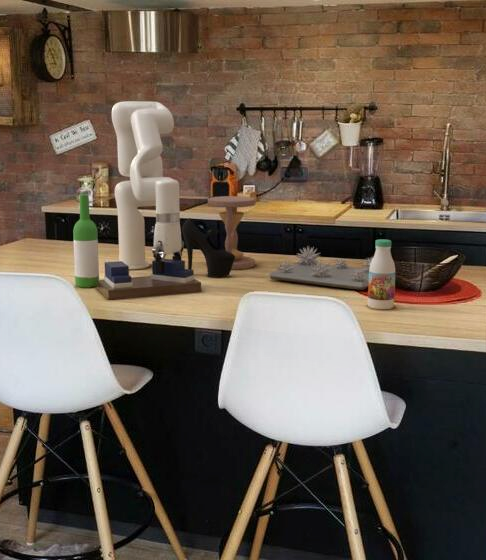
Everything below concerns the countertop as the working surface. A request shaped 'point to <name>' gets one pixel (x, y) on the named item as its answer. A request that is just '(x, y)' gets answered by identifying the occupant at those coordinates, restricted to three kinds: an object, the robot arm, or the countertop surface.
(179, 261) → the blue pale-edged block
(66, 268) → the countertop surface
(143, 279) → the dark brown flat board
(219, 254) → the high-heeled shoe
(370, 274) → the milk bottle
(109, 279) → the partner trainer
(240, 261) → the hourglass
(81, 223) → the wine bottle
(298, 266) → the decorative tray
